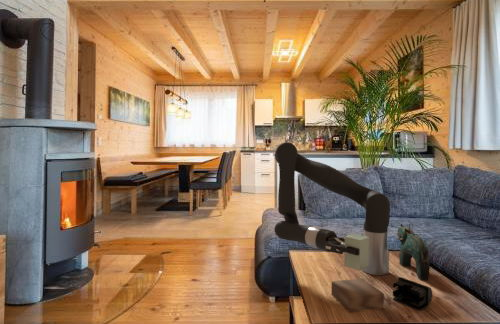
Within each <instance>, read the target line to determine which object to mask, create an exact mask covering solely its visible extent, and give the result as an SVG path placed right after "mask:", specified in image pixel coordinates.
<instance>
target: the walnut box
mask: <svg viewBox="0 0 500 324" xmlns="http://www.w3.org/2000/svg"><path fill="white" fill-rule="evenodd" d="M331 296H333V298H334V299H336V301H337V302H339V303H340V304H341V306H342V307H344V308H345V309H346V310H347V311H348V312H349V313H355V312H361V311H363V312H364V311H370V310H379V309H384V308H385V307H384V306H385V305H384V302H385V300H384V299H385V293H384V292H382V291H381V290H379V289H378V288H377V287H375V286H374V285H373V284H371V283H370V282H368V281H367V280H366V279H364V278H353V279H342V280H332V281H331Z"/></svg>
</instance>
